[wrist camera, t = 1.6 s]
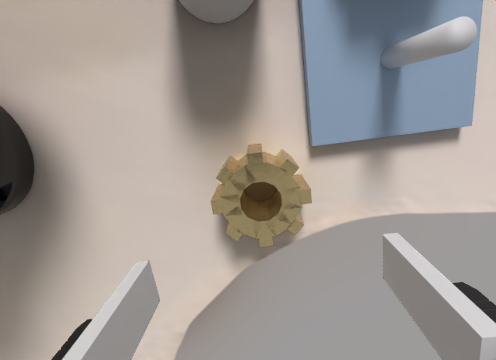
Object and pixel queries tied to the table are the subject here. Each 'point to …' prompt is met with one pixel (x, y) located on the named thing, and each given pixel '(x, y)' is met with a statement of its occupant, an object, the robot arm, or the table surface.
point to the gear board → (370, 86)
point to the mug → (216, 9)
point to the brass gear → (265, 212)
